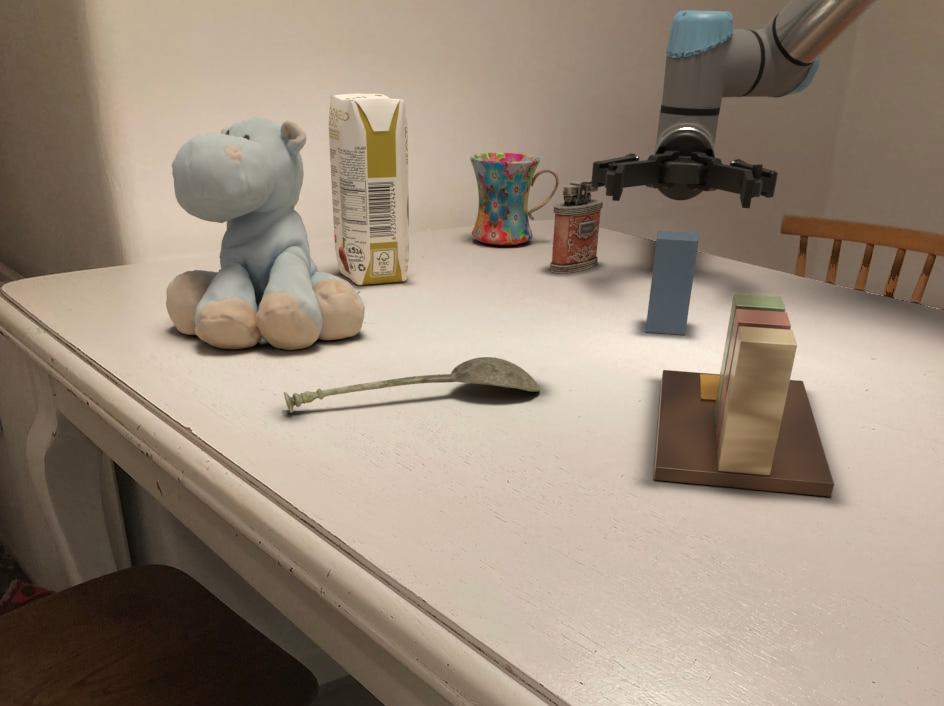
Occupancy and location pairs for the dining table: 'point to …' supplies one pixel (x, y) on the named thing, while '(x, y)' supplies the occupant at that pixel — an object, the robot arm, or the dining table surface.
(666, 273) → the blue block
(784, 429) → the block row
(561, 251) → the lighter
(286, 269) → the hippo plush
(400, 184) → the juice carton
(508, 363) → the soupspoon
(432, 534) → the dining table surface
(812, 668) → the dining table surface
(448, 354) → the dining table surface
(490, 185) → the mug
